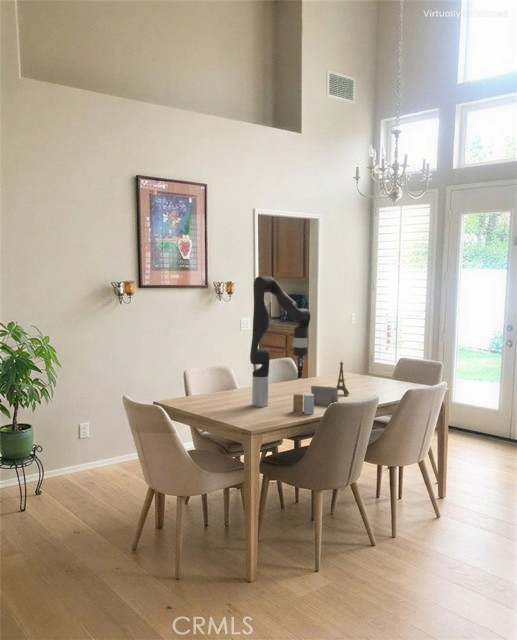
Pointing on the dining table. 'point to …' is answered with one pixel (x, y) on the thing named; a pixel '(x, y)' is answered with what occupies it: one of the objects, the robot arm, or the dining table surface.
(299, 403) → the walnut block
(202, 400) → the dining table surface
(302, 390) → the dining table surface
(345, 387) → the eiffel tower
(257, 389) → the robot arm
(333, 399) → the digital clock
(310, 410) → the slate-blue block
